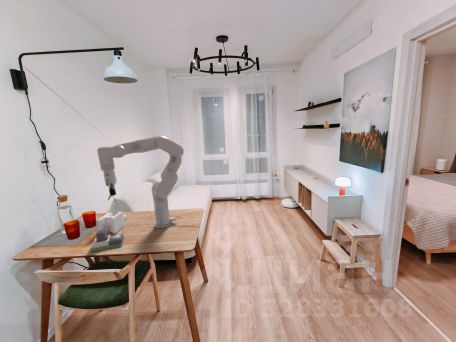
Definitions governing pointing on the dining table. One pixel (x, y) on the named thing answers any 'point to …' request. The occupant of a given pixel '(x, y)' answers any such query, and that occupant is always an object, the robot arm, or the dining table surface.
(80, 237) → the dining table surface
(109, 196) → the flower in vase
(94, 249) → the header board
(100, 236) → the plug
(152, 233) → the dining table surface
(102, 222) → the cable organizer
